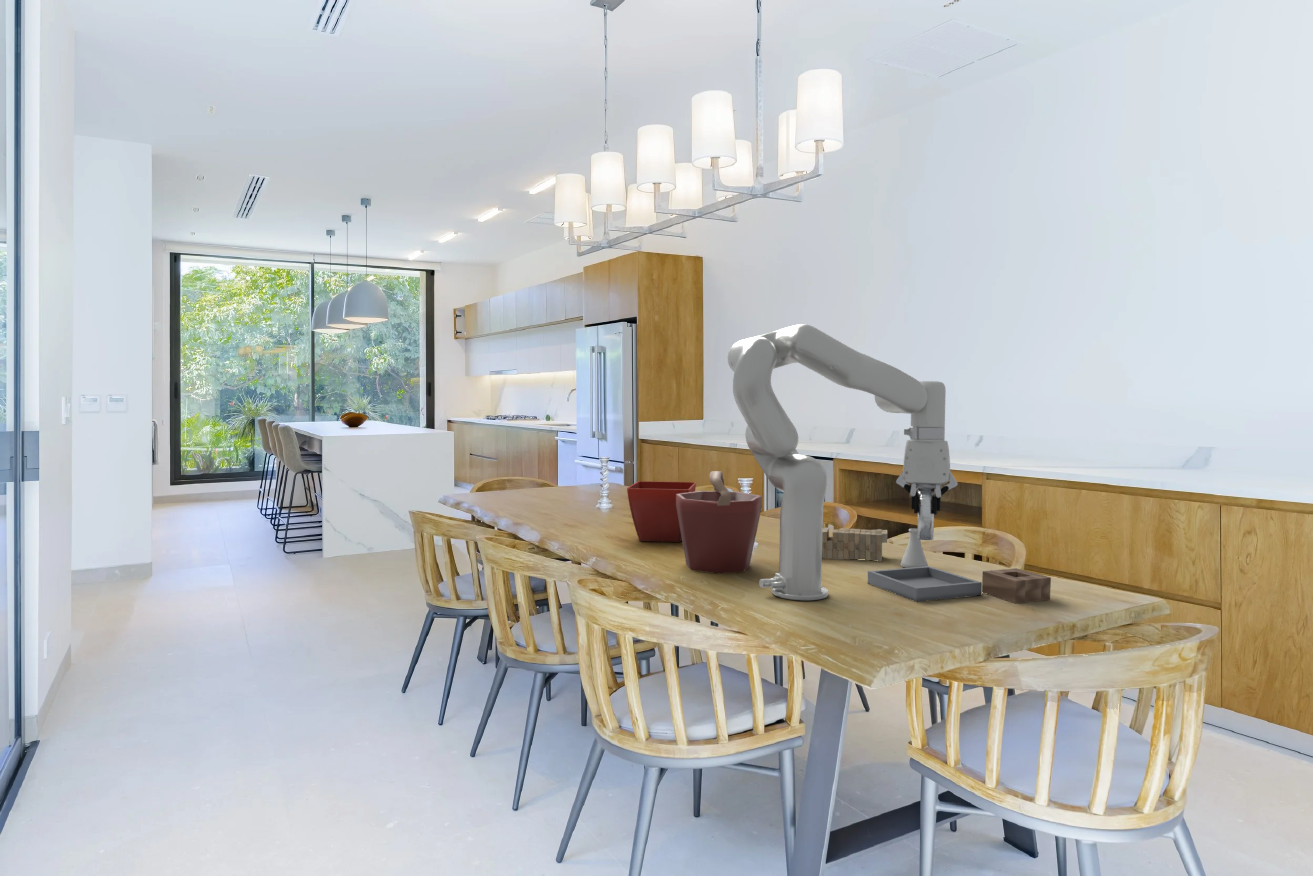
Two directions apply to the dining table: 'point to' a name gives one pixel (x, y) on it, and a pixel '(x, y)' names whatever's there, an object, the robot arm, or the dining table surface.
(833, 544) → the block tower
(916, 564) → the flask
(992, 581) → the socket block
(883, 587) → the tray
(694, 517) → the bucket
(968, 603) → the dining table surface
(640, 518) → the plant pot
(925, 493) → the steel pin
